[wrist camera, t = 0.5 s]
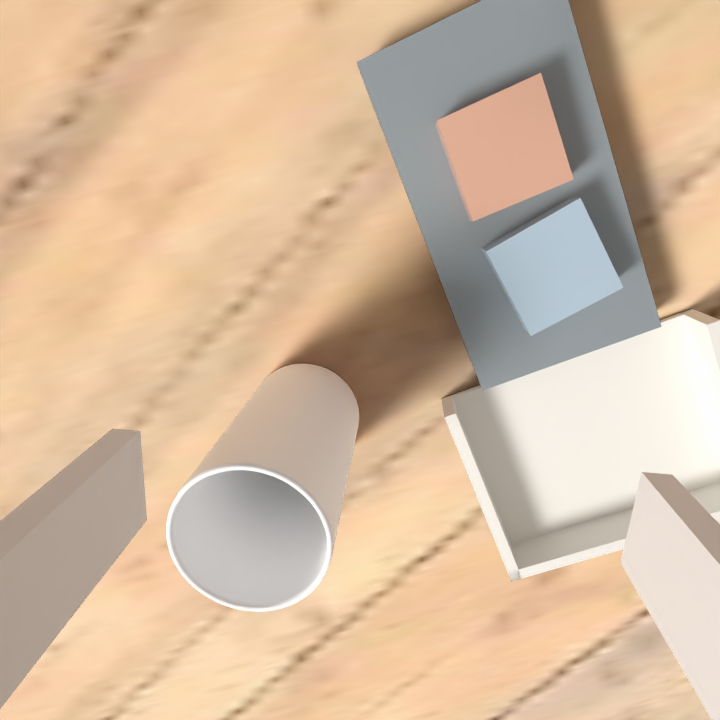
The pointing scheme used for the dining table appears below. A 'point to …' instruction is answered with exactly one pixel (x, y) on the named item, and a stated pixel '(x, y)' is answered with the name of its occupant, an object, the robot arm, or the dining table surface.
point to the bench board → (467, 238)
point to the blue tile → (553, 266)
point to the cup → (269, 493)
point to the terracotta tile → (505, 148)
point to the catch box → (592, 442)
